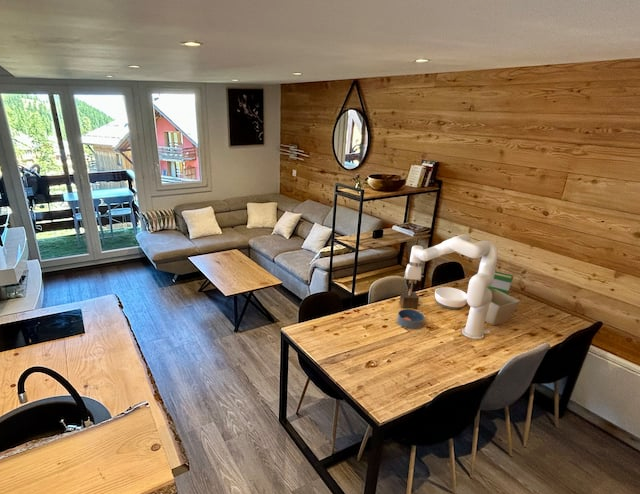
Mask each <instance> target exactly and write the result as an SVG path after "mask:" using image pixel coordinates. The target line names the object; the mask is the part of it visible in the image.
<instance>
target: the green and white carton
mask: <svg viewBox="0 0 640 494" xmlns="http://www.w3.org/2000/svg"><path fill="white" fill-rule="evenodd" d="M514 277H515V276H514V275H513V274H509V273H504V272H500V271H496V270H495V275H494V281H493V283H492V285H490V286H489V287H487V288H488V289H489V290H493V289H496V290H498V291H500V292H502V293H505V294H507V295H509V293H510V289H511V286H512V282H513V279H514Z"/></svg>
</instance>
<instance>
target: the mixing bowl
mask: <svg viewBox="0 0 640 494" xmlns="http://www.w3.org/2000/svg"><path fill="white" fill-rule="evenodd" d="M406 317H408V318H409V319H411V321H409V320H406V319H403V318H406ZM396 322H397V324H398V325H399V326H401V327H403V328H405V329H409V330H418V329H421V328H423V327H424V323H425V316H424V314H423V313H421V312H420V311H417V310H416V309H407V308H403V309H400V310H399V311H398V312H397V319H396Z"/></svg>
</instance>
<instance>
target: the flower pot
mask: <svg viewBox="0 0 640 494" xmlns="http://www.w3.org/2000/svg"><path fill="white" fill-rule="evenodd" d="M490 291H491V292H492V300H491V303H490V305H489V308H488V311H487V315H486V319H485V322H486V323H487V324H489V325H491V326H497V325H501V324H504V323H506V322H508V321H509V319H510V318H511V316H512V315H513V314H514V312H515V311H516V309H517V307H518V306H519V304H520V301H521V300H520V299H518V298H515V297H513V296H511V295H509V294H508V295H507V294H505V293H502V292H500V291H498V290H496V289H493V290H490Z"/></svg>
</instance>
